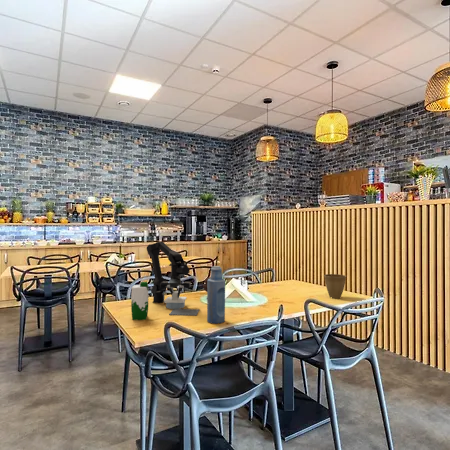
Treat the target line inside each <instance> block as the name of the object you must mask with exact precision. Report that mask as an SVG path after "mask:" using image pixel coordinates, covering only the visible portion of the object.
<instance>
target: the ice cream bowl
mask: <svg viewBox="0 0 450 450" xmlns="http://www.w3.org/2000/svg"><path fill="white" fill-rule="evenodd" d="M210 278H211V276H209V277H206V278H204V284H202V288H203V290H204V291H205V292H206V293H207V280H208V279H210Z"/></svg>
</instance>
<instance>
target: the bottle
mask: <svg viewBox="0 0 450 450" xmlns="http://www.w3.org/2000/svg"><path fill="white" fill-rule="evenodd" d="M222 272H223V270H222V267H221V265H213V266H212V267H211V268H210V279H208V280H207V292H206V294H207V296H206V300H207V301H206V303H207V305H206V308H207V312H206V320H207V321H206V322H208V323H209V324H214V325H215V324H216V325H217V324H218V323H219V324H223V323H224V322H225V321H226V316H225V315H226V279H225V278H223V273H222ZM219 324H218V325H219Z"/></svg>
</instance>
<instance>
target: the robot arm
mask: <svg viewBox="0 0 450 450" xmlns="http://www.w3.org/2000/svg"><path fill="white" fill-rule="evenodd" d="M146 251H147V255H149V257H150V258H151V263H152V269H153V275H154V280H153V286H152V287H151V289H150V293H151V294H153V295H152V296H153V301H152V303H153V304H154V303H156V304H157V303H159V304H161V303H164V301H165V294H164V293H166V292H167V290H169V292H170V294H171V296H172V293H173V292H174V288H177V289H178V290H177V291H178V298H179V297H181V296H180V295H181V292H182V290H183V289H184V288H186V289H187V288H189V289H190V288H191V286H192V283H191V281H184V282H182V279H181V276H188V275H189V274H190V268H189V266H188V264H186V262H185V260H184V258H183V256H182V254H181V253H180V252H177V251H174V250H173V249H171V248H170V246H168V245H167V244H165V241H156V242H154V243H151V244H147V246H146ZM161 252H162V253H163V254H165V256H167V259H168V261H169V262H170V264H169V265H168V266H169V267H170V280H169V281H167V279H166V278H164V277H163V273H162V268H161V262H160V257H159V256H160V253H161Z"/></svg>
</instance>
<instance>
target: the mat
mask: <svg viewBox="0 0 450 450" xmlns="http://www.w3.org/2000/svg"><path fill="white" fill-rule="evenodd" d="M199 312H200V308H198V309H197V308H195V309H193V308H180V309H171V311H170V312H169V316H188V317H189V316H193V317H197V316H198V313H199Z"/></svg>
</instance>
